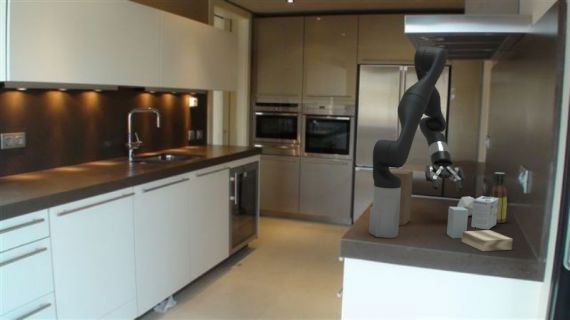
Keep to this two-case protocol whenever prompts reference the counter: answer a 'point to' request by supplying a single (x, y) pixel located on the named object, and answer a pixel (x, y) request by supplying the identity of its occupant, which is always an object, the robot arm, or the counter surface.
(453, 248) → the counter surface
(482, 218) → the light bulb box
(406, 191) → the wooden block
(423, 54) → the robot arm
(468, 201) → the die
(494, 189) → the sauce bottle
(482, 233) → the beech block
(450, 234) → the grey rectangular block
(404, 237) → the counter surface
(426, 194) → the counter surface
